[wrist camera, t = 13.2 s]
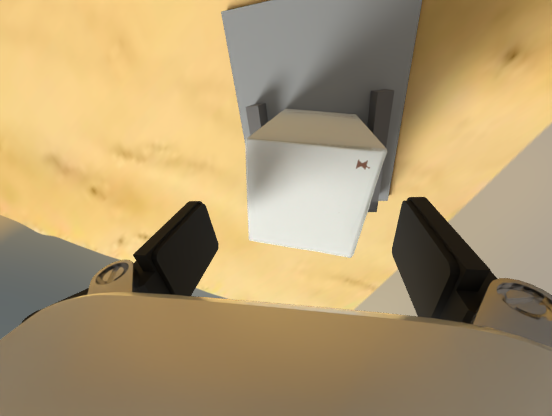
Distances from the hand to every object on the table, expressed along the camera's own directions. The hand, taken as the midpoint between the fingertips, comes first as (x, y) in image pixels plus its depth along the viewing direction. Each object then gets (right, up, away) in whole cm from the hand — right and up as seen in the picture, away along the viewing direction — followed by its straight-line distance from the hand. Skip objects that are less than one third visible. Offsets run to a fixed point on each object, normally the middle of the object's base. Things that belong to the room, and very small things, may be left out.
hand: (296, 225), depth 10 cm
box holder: (+3, +10, +12) cm, 16 cm away
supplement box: (+3, +8, +13) cm, 15 cm away
